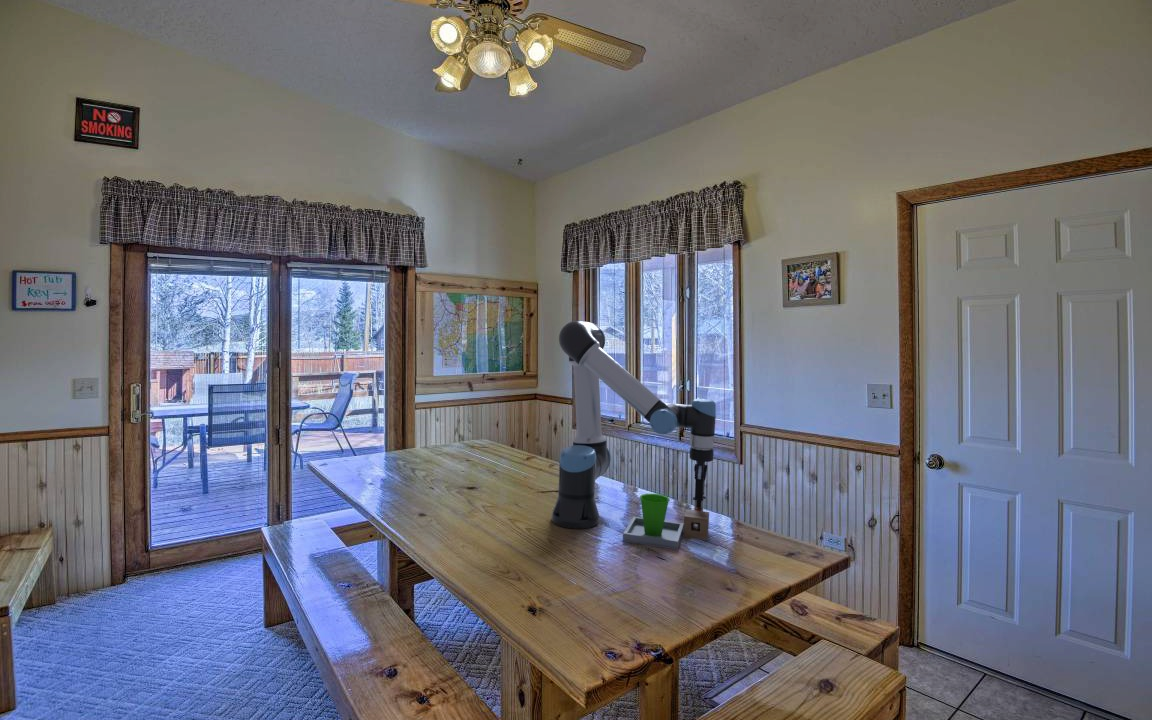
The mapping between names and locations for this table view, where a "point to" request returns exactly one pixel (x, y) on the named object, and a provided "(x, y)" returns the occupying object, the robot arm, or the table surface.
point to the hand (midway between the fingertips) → (698, 518)
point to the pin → (695, 524)
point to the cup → (654, 513)
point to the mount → (699, 518)
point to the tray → (666, 539)
